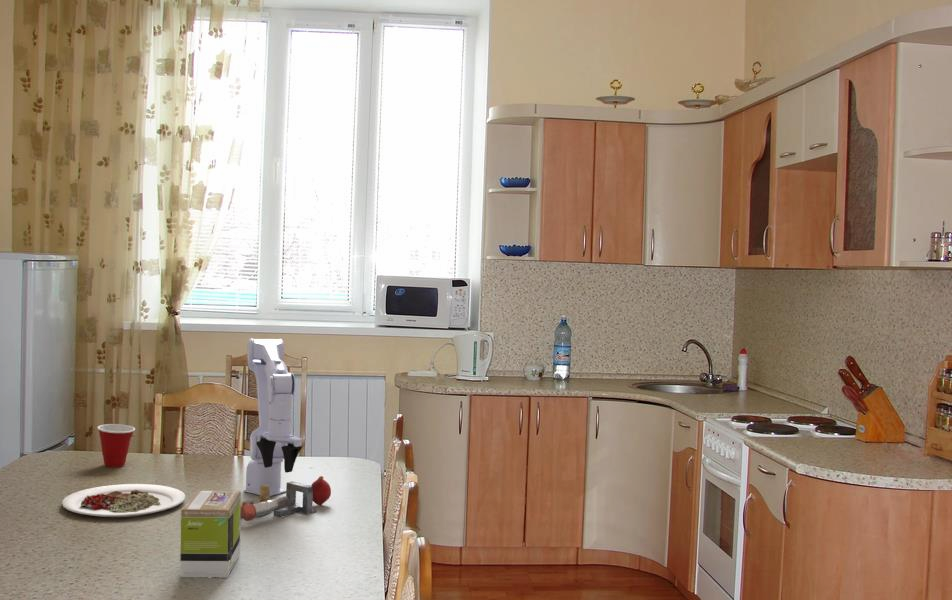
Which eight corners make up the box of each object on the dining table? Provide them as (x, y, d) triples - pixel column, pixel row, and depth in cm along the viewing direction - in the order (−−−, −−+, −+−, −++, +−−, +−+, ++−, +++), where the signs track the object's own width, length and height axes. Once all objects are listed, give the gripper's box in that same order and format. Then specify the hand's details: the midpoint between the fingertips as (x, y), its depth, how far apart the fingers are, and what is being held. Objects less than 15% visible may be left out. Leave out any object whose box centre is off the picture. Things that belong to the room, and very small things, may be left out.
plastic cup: (125, 470, 273) (127, 430, 273) (90, 468, 273) (91, 429, 273) (139, 462, 284) (140, 424, 284) (105, 460, 284) (106, 422, 284)
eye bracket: (264, 513, 235) (265, 487, 235) (291, 505, 244) (292, 480, 243) (289, 520, 230) (290, 493, 230) (316, 512, 239) (317, 486, 238)
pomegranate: (325, 509, 242) (326, 479, 241) (305, 507, 243) (306, 477, 242) (333, 503, 247) (334, 474, 247) (313, 501, 248) (314, 472, 248)
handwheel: (227, 515, 231) (227, 491, 230) (228, 504, 240) (229, 481, 240) (269, 514, 233) (270, 490, 233) (268, 503, 243) (269, 480, 242)
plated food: (206, 508, 239) (207, 495, 239) (93, 529, 217) (94, 515, 217) (151, 485, 259) (151, 473, 259) (42, 502, 237) (42, 489, 237)
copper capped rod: (240, 519, 225) (240, 502, 225) (278, 508, 236) (279, 492, 236) (252, 522, 223) (252, 505, 223) (290, 511, 234) (291, 495, 234)
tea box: (194, 554, 202) (196, 488, 201) (240, 555, 203) (243, 489, 202) (178, 578, 187) (180, 507, 186) (228, 579, 188) (230, 508, 187)
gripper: (249, 416, 242) (247, 467, 243) (288, 424, 234) (287, 476, 235) (269, 413, 248) (267, 463, 249) (308, 420, 240) (306, 471, 241)
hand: (278, 469), depth 242 cm, fingers open, 7 cm apart
